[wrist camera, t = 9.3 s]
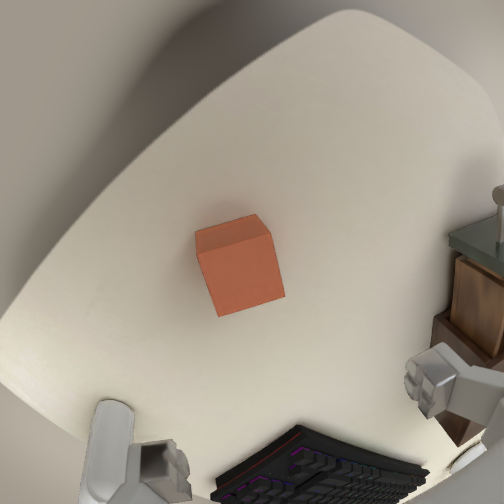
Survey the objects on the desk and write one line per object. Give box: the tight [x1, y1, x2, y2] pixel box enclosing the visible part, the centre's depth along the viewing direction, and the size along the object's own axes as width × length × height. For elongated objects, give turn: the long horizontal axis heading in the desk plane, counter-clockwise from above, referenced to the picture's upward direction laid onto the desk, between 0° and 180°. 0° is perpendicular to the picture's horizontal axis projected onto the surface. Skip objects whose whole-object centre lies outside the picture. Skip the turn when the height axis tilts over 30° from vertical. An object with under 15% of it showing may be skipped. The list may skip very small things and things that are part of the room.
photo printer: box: [78, 400, 134, 504], centre depth 22 cm, size 10×4×12 cm, turn 155°
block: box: [195, 214, 285, 317], centre depth 21 cm, size 4×4×4 cm
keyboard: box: [210, 425, 430, 504], centre depth 38 cm, size 42×16×5 cm, turn 46°
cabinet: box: [430, 308, 504, 447], centre depth 29 cm, size 15×13×10 cm
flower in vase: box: [450, 443, 486, 475], centre depth 41 cm, size 13×11×25 cm
